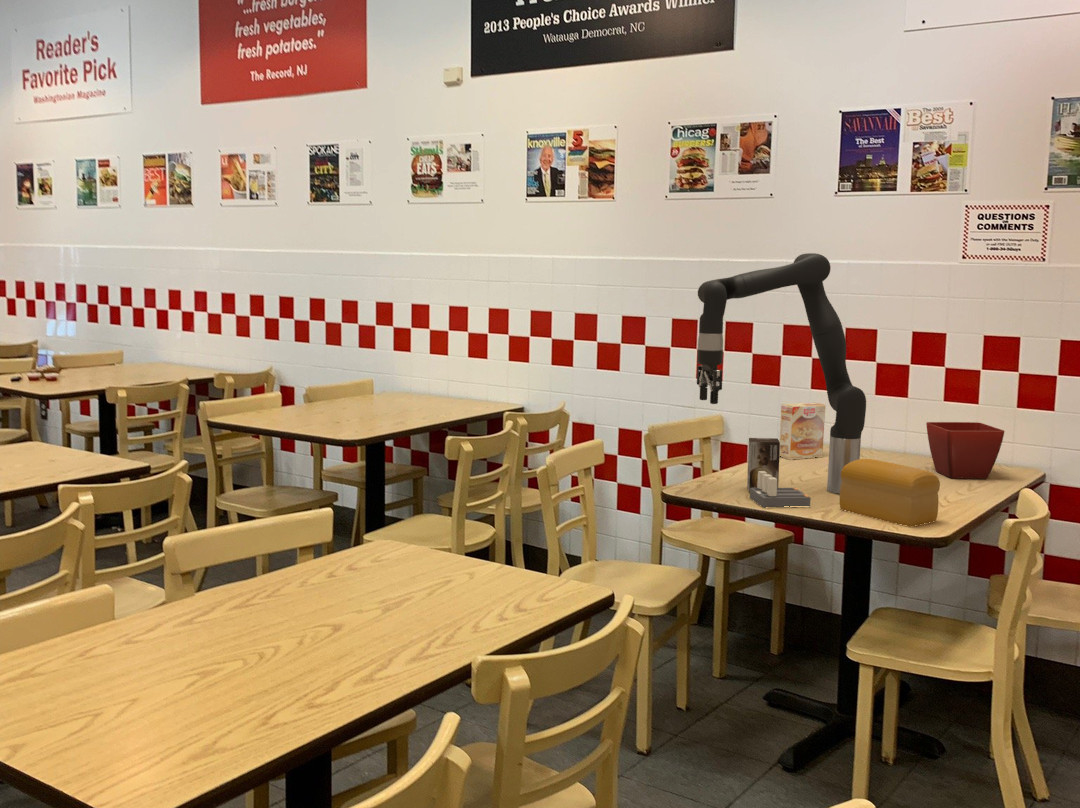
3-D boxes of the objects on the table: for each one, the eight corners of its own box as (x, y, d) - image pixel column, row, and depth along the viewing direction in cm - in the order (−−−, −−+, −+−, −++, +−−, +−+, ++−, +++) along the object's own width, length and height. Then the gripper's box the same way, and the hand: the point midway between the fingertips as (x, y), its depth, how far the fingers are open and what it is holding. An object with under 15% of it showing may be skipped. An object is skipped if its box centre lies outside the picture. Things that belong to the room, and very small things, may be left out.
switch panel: (794, 497, 319) (795, 487, 319) (810, 507, 306) (810, 497, 306) (749, 497, 318) (749, 487, 317) (763, 508, 305) (763, 497, 304)
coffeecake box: (790, 460, 378) (792, 406, 375) (777, 456, 384) (780, 403, 382) (823, 457, 384) (826, 404, 381) (810, 454, 390) (813, 401, 388)
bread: (938, 521, 293) (942, 468, 291) (910, 528, 286) (913, 473, 284) (865, 504, 313) (869, 454, 311) (837, 509, 305) (840, 458, 303)
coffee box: (775, 488, 331) (778, 438, 328) (778, 493, 324) (780, 441, 322) (746, 487, 331) (748, 437, 329) (748, 492, 325) (750, 440, 323)
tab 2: (768, 490, 313) (769, 474, 312) (771, 492, 310) (772, 476, 309) (761, 490, 312) (762, 474, 312) (764, 492, 310) (765, 476, 309)
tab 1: (763, 487, 317) (764, 471, 316) (766, 489, 314) (767, 472, 314) (757, 487, 317) (758, 471, 316) (759, 489, 314) (760, 472, 314)
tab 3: (773, 494, 308) (774, 477, 307) (776, 496, 306) (777, 479, 305) (766, 494, 308) (767, 477, 307) (769, 496, 305) (770, 479, 305)
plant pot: (921, 469, 366) (925, 421, 364) (976, 469, 367) (979, 421, 364) (944, 481, 347) (948, 430, 345) (1002, 481, 348) (1006, 431, 346)
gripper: (731, 350, 310) (729, 405, 313) (713, 346, 324) (711, 398, 327) (707, 350, 309) (705, 405, 311) (689, 346, 323) (688, 399, 325)
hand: (708, 401), depth 319 cm, fingers open, 8 cm apart
